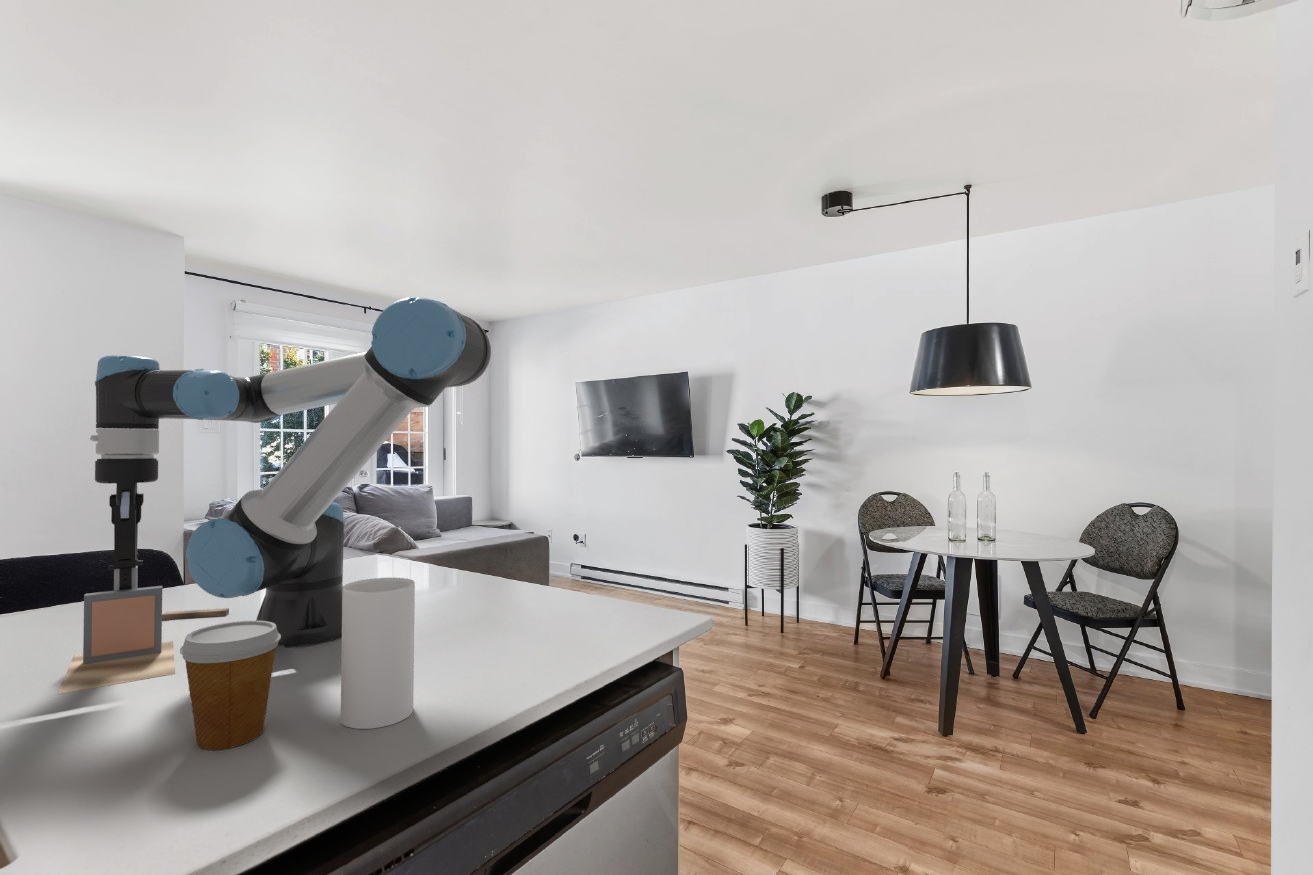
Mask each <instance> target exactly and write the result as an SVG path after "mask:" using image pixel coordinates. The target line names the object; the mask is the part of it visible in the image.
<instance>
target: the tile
mask: <svg viewBox="0 0 1313 875" xmlns="http://www.w3.org/2000/svg"><path fill="white" fill-rule="evenodd" d="M162 614H163V585H156V586H147V587H137V588H136V589H126V590H117V591H114V590H108V591H98V592H91V593H85V594H84V595H83V634H82V636H83V637H82V638H83V641H82V642H83V644H82V645H83V646H82V649H83V650H82V654H83V665H84V664H91V663H97V662H103V661H110V660H116V659H123V658H129V657H136V656H142V655H148V654H155V653H161V646H162V643H163V639H162V638H163V636H162V635H163V632H162V631H163V630H162V626H163V621H162Z"/></svg>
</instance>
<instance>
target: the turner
mask: <svg viewBox="0 0 1313 875" xmlns="http://www.w3.org/2000/svg"><path fill="white" fill-rule="evenodd" d="M229 612H230V608H229V607H225V608H211V609H209V608H207V609H193V610H180V611H177V610H176V611H166V612H163V613H162V622H168V621H177V620H185V619H193V618H194V619H196V618H211V617H222V616H223V617H226V616H227V615H228V614H230V613H229Z"/></svg>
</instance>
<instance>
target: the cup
mask: <svg viewBox="0 0 1313 875" xmlns="http://www.w3.org/2000/svg"><path fill="white" fill-rule="evenodd" d="M415 584H416V583H415V580H413V579H410V578H405V577H376V578H366V579H361V580H356V581H352V582H349V583H346V584H345V585H343V590H342V637H341V658H340V660H341V662H340V663H341V666H340V671H341V672H340V673H341V674H340V723H341V724H342V725H343V726H345V727H346V728H347V727H348V728H351V729H355V730H356V729H357V730H368V729H371V730H372V729H379V728H385V727H387V726H391V725H394V724H397V723H400V722H402V721H404V720H405V719H407V718H408V717H410V716H411V714H413V712H414V689H415V687H414V678H415V671H414V670H415V614H416V613H415V607H416V606H415V605H416V604H415V603H416V602H415V600H416V599H415V596H416V594H415V592H416V588H415V587H416V585H415Z"/></svg>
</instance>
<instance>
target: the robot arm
mask: <svg viewBox="0 0 1313 875" xmlns="http://www.w3.org/2000/svg"><path fill="white" fill-rule="evenodd" d="M371 335H372V340H371V341H370V342H371V344H370V345H371V347H370V348H369V349H368V350H367V351H365V352H364V351H363V352H359V353H355V354H350V355H344V356H340V357H336V358H332V359H327V360H322V361H317V362H313V363H308V364H304V365H303V364H302V365H298V366H295V367H294V366H293V367H290V368H285V369H280V370H277V371H276V370H275V371H271V372H267V373H263V374H257V375H253V376H247V377H246V376H245V377H244V376H243V377H242V376H236V375H229V374H228V373H227V372H224V371H221V370H211V369H203V368H195V369H181V370H180V369H175V370H174V369H173V370H167V369H166V370H161V369H160V363H159V361H158V360H156V359H155V358H150V357H144V356H135V355H117V354H115V355H112V354H111V355H105V356H102V357H101V358H99V360H98V362H97V365H96V366H97V367H96V377H95V380H94V385H95V428H96V429H95V431H96V434H91V436H90V437H89V440H90V441H91V442H96V443H95V454H96V455H98V456H101V458H96V460H95V462H94V481H95V483H98V484H116V488H115V490H116V491H115V494H114V493H113V494H112V493H111V494H110V495H109V499H108V500H109V501H108V502H109V504H108V505H109V507H110V508H111V520H110V522H111V524H112V525H113V527H114V528H113V531H114V532H113V534H114V536H113V537H114V538H113V539H114V540H113V542H114V544H113V548H114V551H113V552H114V558H113V559H114V560H113V564H109V565H108V570H109V571H111V570H112V571H113V570H114V571H113V591H117V590H126V589H136V588H138V568H139V565H143V564H144V563H143V562H144V560H143V559H140V560H139V559H138V557H139V553H138V534H139V533H138V532H139V523H140V522H141V520H142V506H143V505H144V502H145V501H144V500H145V498H144V493H142V492H141V493H138V483H153V482H156V481H158V479H159V460H157V458H156V457H155V455H158V454H159V453H160V426H159V424H160V419H161V420H163V419H173V420H174V419H175V420H176V419H177V420H199V421H203V420H206V421H229V422H230V421H232V422H248V423H255V424H256V423H257V424H260V423H266V422H267V423H268V422H274V421H276V420H277V419H279V418H280V417H281V416H283V415H286V414H292V413H297V412H300V411H301V412H302V411H307V410H311V409H317V408H321V407H325V406H330V405H335V406H334V407H333V408H332V409H331V410H330V412H329V413H328V414H327V415H326V416H325V417H324V419H322V421H321V422H320V423H319V424H318V425H317V427H316V428H315V429H313V431H312V432H311V434H310V435H309V436H308V437H307V438H306V439H305V440H304V441H303V443H302V444H301V445H300V446H299V447H298V449H297V450H296V451H295V452H294V453H293V455H292V456H290V457H289V459H288V460H287V461H286V462H285V464H284V465H283V466H281V468H280V469H279V471H278V472H277V473H276V474H275V475H274V477H273V478H272V479H271V480H270V481H269V482H268V483H267V484H266V486H265V487H264V488H263V489H253V490H249V491H247V492H245V494H244V495H243V496H242V497H241V498H240V499H239V500H238V501H237V503H236V504H235V505H233V507H232V508H231V509H230V511H228V513H227V514H226V515H225V516H224V517H217V518H212V519H210V520H208V521H206V522H204V523H202V524H200V525H199V526H198V527H196V529H195V530H194V531H193V532H192V534H191V535H190V538H189V539H188V542H187V545H186V552H185V553H186V554H185V556H186V557H185V558H186V560H187V562H188V564H187V569H188V572H189V574H190V576H191V578H192V579H193V581H194V582H195V583H196V585H197V586H198V587H199V588H201V590H203V591H204V592H205V593H207V594H209V595H211V596H212V597H213V596H214V597H217V598H221V599H233V598H238V597H247V596H249V595H252V594H255V593H256V592H259V591H262V590H265V595H264V597H263V600H262V603H261V606H260V608H259V610H258V613H257V616H256V620H255V621H268V622H272V623H274V624H276V627H277V631H278V633H279V634H280V635H281V639H280V640H279V641H278V645H277V646H284V648H294V647H305V646H310V645H318V644H322V643H326V642H330V641H334V640H336V639H337V640H338V639H339V638H342V590H343V586H344V585H343V584H344V583H343V581H344V580H343V578H344V576H343V573H344V569H343V568H344V531H345V530H344V529H345V524H346V523H345V520H344V509H343V507H342V506H341V504H339V503H338V502H334V501H335V499H337V498H338V496H339V495H340V494H341V493H342V492H343V491H344V489H345V488H347V486H348V485H349V483H351V481H352V480H353V479H354V478H355V476H356V475H357V474H358V473H359V472H360V471H361V470H362V468H363V467H364V466H365V465H366V464H367V463H368V462H369V460H370V459H371V458H372V457H373V456H374V454H376V452H378V450H379V449H380V448H381V447H382V446H383V444H384V443H385V442H386V441H387V440H388V439H389V437H390V436H391V435H392V434H393V433H394V432H395V431H396V430H397V428H398V427H399V426H400V425H401V423H402V422H403V421H404V420H405V419H406V418H407V417H408V415H409V414H411V412H412V411H413V410H414V409H416V408H428V407H430V406H431V405H432V404H433V403H434V402H435V400H437V398H439V396H440V395H441V394H442V392H444V391H445V389H447V388H454V387H463V386H466V385H469V384H471V383H473V382H475V381H477V380H478V379H479V378H481V376H482V375H483V374H484V373H485V372H486V371H487V368H488V366H489V365H490V361H491V356H492V347H491V343H490V338H489V336H488V335H487V333H486V331H485V330H484V328H482V326H481V325H480V323H478V322H476V321H475V320H474V319H472V318H471V317H468V316H466V315H464V314H462V313H460V312H459V311H457V310H455V309H453V308H452V307H450V306H449V305H447V304H446V303H443V302H442V301H439V300H435V299H432V298H431V299H430V298H427V297H419V296H418V297H417V296H413V297H406V298H402V299H399V300H396V301H395V302H394V301H393V303H391V304H389V305H388V306H387V307H385V308H384V309H383V310H382V312H380V313H379V315H378V317H377V318H376V319H375V321H374V323H373V326H372V330H371Z"/></svg>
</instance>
